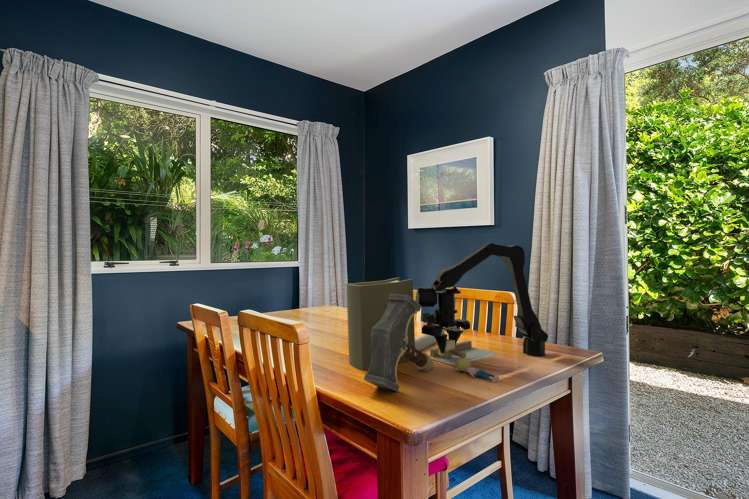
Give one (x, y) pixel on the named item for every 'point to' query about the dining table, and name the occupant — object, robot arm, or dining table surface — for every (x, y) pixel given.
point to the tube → (424, 341)
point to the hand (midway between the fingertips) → (446, 352)
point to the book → (371, 315)
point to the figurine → (473, 369)
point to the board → (466, 347)
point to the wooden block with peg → (451, 350)
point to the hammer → (394, 343)
